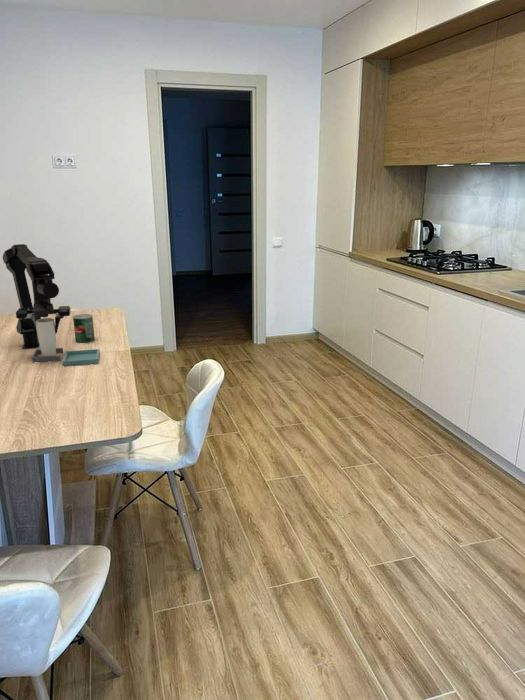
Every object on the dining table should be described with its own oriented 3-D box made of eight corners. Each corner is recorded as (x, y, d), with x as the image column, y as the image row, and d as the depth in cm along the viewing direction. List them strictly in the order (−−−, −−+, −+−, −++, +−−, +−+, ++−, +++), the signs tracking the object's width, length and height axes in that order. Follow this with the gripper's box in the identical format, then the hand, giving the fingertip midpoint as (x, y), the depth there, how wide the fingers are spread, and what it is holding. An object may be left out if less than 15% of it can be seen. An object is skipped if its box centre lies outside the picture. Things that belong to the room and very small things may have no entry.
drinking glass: (52, 360, 197) (47, 322, 193) (36, 359, 199) (31, 321, 194) (62, 355, 204) (57, 318, 199) (46, 354, 205) (42, 317, 200)
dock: (36, 354, 205) (36, 349, 204) (63, 352, 207) (62, 347, 206) (32, 362, 195) (31, 357, 194) (60, 360, 197) (59, 355, 197)
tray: (66, 356, 203) (65, 351, 202) (99, 353, 206) (99, 349, 205) (62, 366, 191) (62, 361, 191) (98, 364, 194) (97, 359, 194)
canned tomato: (97, 338, 226) (95, 314, 222) (90, 344, 218) (87, 318, 215) (80, 338, 227) (77, 313, 223) (72, 343, 219) (69, 318, 216)
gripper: (10, 299, 184) (16, 341, 189) (65, 297, 188) (70, 338, 193) (16, 293, 194) (21, 333, 199) (68, 291, 199) (72, 330, 203)
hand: (46, 333), depth 198 cm, fingers closed on drinking glass, 7 cm apart
